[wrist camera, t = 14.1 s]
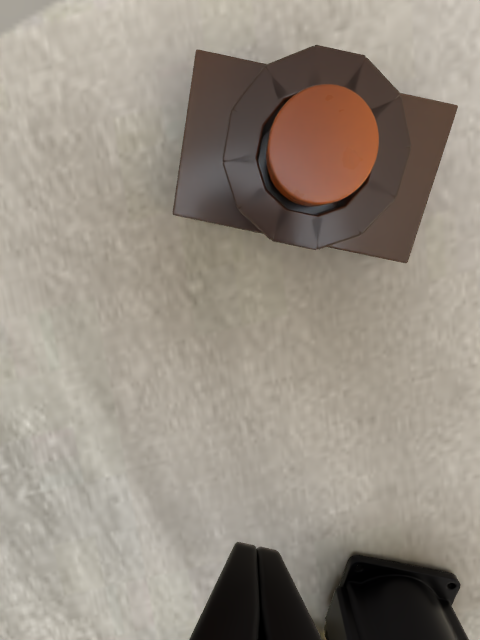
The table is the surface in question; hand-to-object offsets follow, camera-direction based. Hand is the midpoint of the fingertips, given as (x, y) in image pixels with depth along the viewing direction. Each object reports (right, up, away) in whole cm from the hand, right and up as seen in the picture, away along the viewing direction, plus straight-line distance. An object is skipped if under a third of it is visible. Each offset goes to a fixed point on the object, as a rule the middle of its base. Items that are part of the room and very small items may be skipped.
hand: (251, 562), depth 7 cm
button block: (+3, +11, +9) cm, 15 cm away
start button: (+2, +10, +6) cm, 12 cm away
